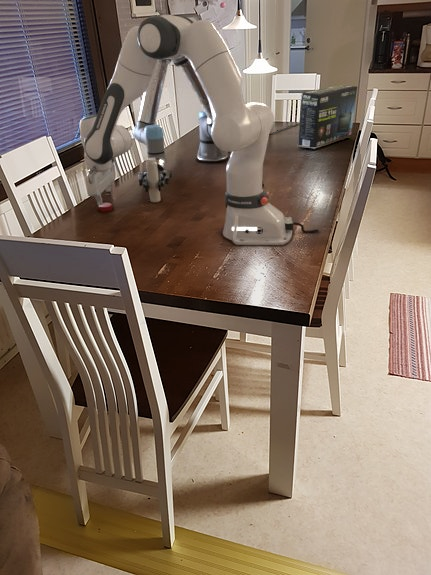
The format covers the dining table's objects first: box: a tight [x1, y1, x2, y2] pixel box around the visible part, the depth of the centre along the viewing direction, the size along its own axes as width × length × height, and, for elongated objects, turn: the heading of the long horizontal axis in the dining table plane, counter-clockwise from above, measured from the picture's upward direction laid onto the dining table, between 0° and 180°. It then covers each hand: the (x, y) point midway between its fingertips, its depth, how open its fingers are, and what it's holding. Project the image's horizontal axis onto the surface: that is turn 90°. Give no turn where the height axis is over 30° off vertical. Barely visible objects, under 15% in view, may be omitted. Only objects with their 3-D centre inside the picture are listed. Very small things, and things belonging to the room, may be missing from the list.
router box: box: [297, 84, 358, 151], centre depth 238 cm, size 36×11×27 cm, turn 134°
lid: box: [98, 202, 114, 213], centre depth 172 cm, size 5×5×2 cm
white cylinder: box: [145, 157, 162, 203], centre depth 175 cm, size 4×4×16 cm
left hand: (152, 188), depth 171 cm, fingers closed on white cylinder, 4 cm apart
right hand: (105, 200), depth 170 cm, fingers open, 8 cm apart
